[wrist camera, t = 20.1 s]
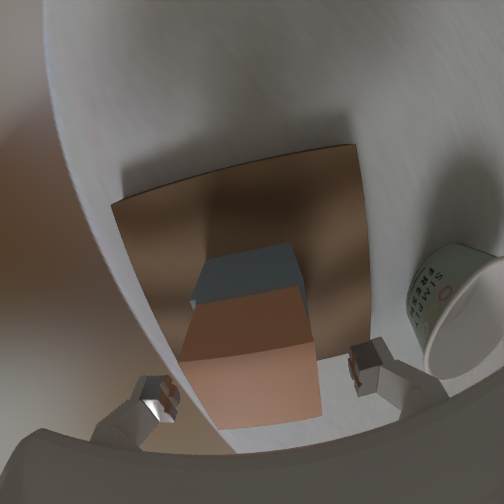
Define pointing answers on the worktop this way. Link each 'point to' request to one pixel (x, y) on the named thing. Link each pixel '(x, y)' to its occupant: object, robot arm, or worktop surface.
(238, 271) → the slate block
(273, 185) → the walnut board
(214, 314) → the terracotta block
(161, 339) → the worktop surface
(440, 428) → the robot arm
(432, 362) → the food container
